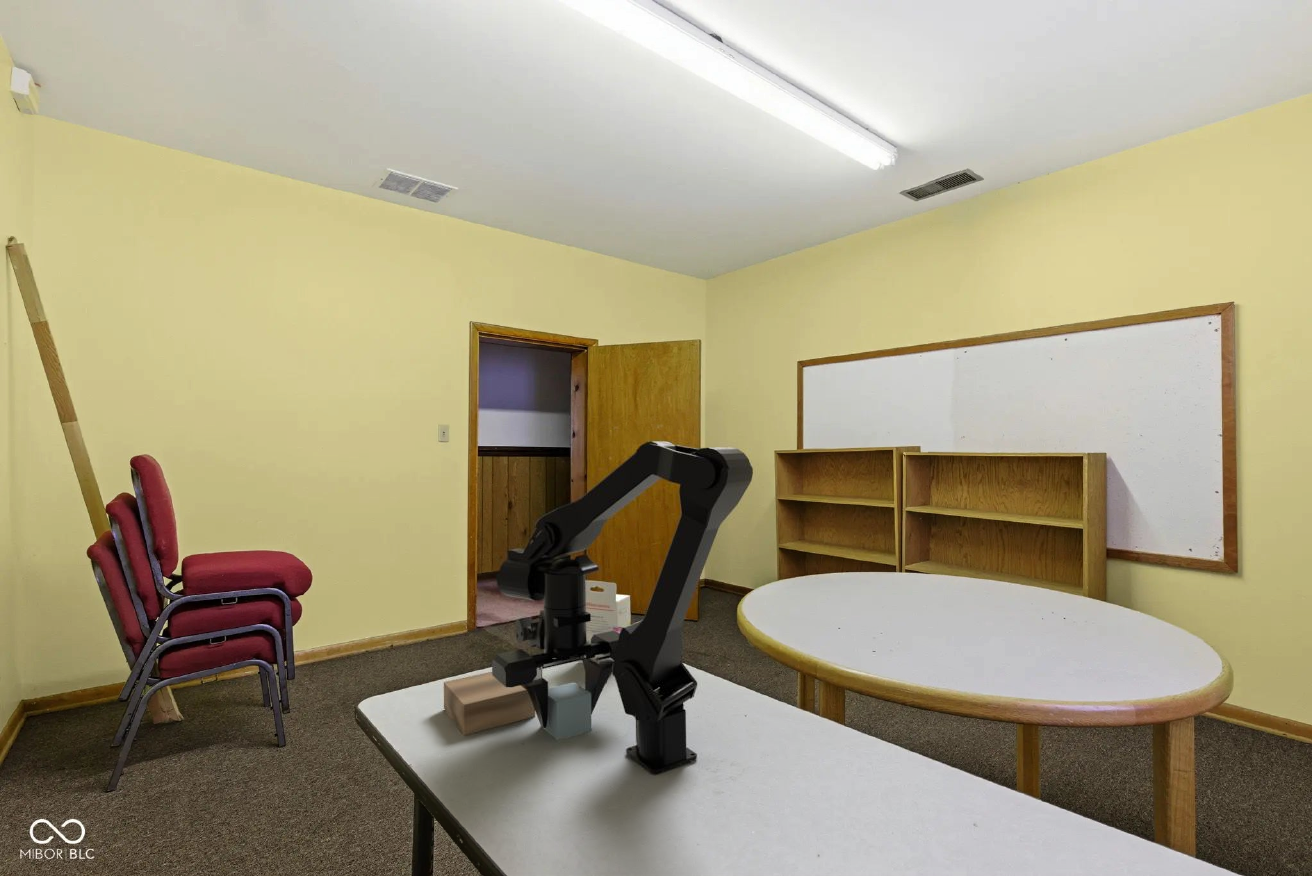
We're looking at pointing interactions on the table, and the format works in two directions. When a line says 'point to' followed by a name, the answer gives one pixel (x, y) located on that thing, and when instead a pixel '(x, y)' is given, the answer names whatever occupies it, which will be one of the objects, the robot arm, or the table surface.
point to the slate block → (568, 711)
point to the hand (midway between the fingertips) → (566, 720)
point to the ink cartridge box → (606, 609)
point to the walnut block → (485, 703)
